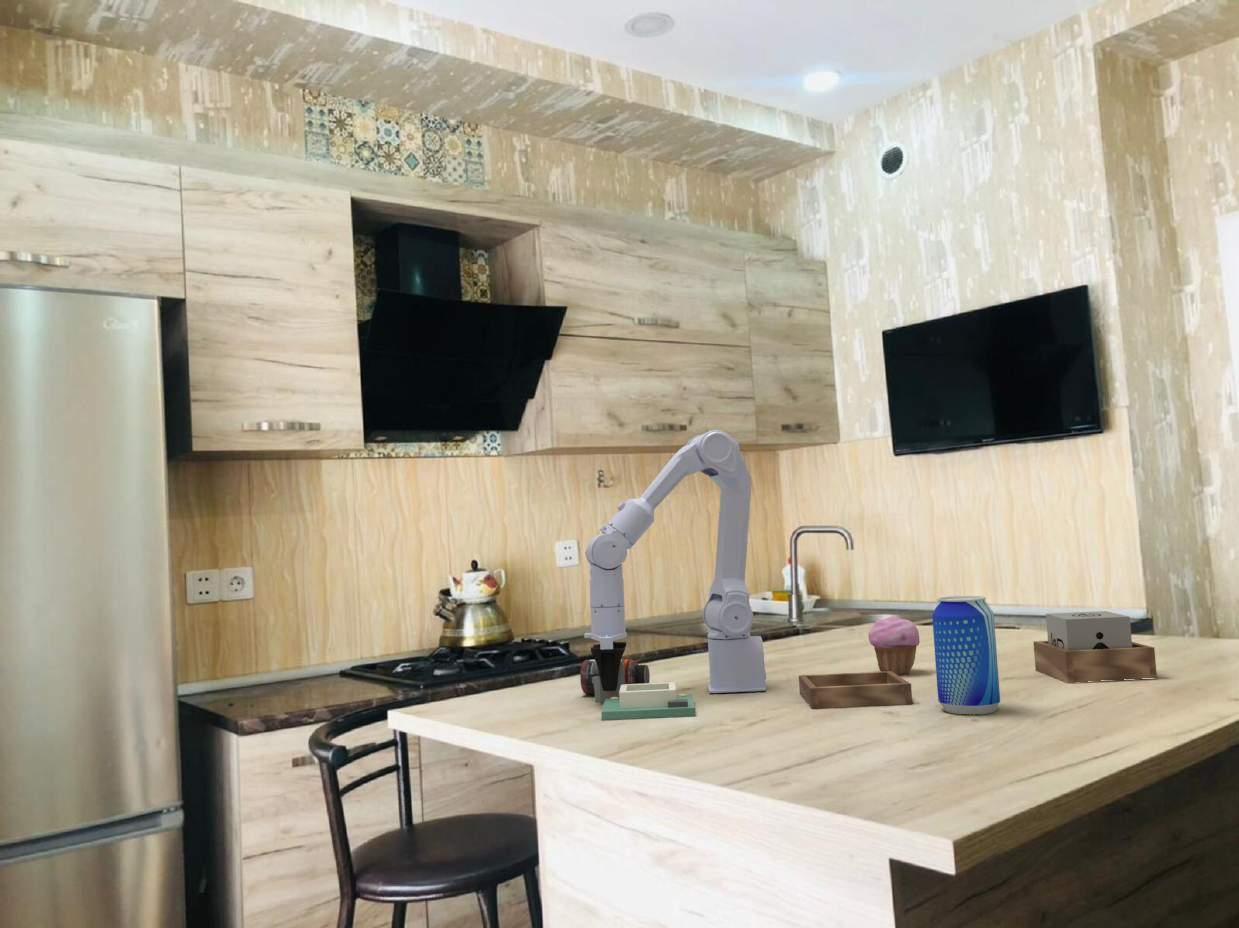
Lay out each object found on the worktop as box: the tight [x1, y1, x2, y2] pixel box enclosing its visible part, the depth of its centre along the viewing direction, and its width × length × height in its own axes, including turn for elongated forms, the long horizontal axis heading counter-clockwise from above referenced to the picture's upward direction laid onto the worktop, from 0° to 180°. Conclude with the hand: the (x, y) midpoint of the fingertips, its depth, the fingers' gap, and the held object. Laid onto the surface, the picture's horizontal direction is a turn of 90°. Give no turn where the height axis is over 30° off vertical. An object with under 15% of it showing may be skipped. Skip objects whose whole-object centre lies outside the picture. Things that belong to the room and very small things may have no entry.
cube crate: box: [1033, 640, 1158, 684], centre depth 169 cm, size 14×14×5 cm
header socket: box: [619, 681, 677, 709], centre depth 158 cm, size 9×8×2 cm
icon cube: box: [1045, 610, 1133, 651], centre depth 169 cm, size 10×10×10 cm
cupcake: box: [868, 616, 920, 676], centre depth 182 cm, size 9×9×10 cm
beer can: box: [931, 595, 1001, 716], centre depth 146 cm, size 8×8×16 cm
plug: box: [594, 662, 625, 704], centre depth 169 cm, size 5×4×6 cm
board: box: [600, 693, 696, 721], centre depth 158 cm, size 14×12×2 cm
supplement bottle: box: [579, 658, 651, 696], centre depth 175 cm, size 6×6×11 cm
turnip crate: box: [798, 671, 913, 709], centre depth 159 cm, size 15×13×3 cm
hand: (610, 688), depth 169 cm, fingers closed on plug, 4 cm apart
